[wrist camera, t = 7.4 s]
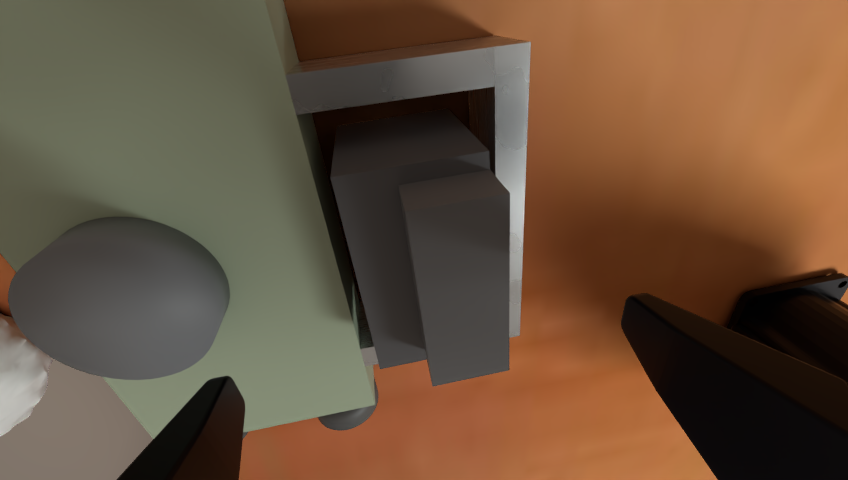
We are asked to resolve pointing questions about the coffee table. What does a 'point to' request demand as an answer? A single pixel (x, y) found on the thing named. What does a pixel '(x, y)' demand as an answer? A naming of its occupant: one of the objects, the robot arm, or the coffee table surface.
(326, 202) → the mower deck
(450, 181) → the dark grey stepped block
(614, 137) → the coffee table surface
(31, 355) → the sitting furry creature
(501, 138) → the bracket
